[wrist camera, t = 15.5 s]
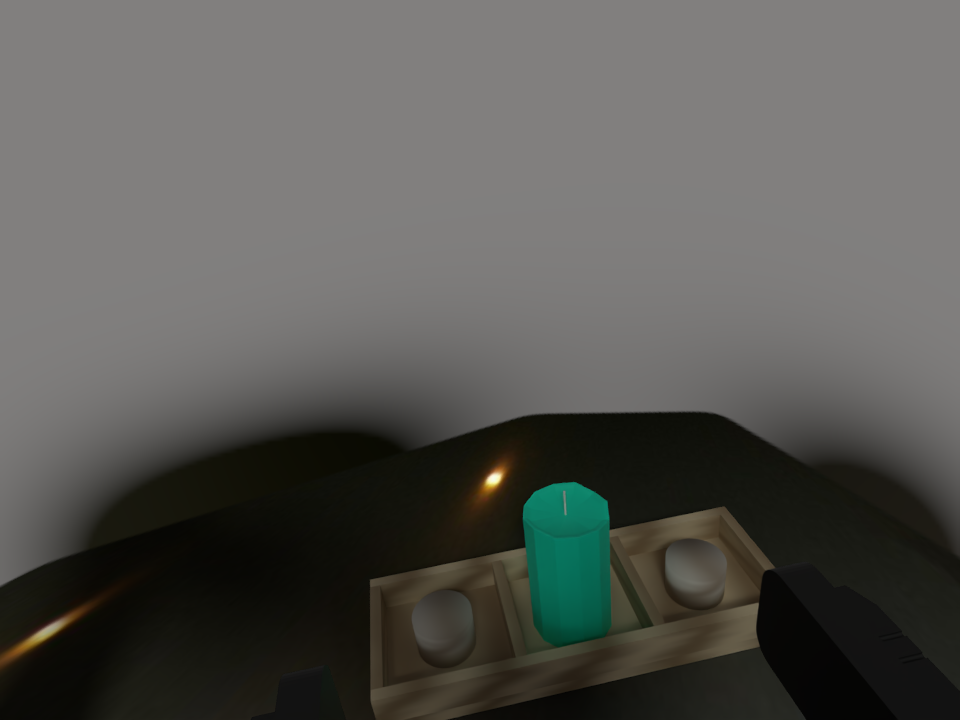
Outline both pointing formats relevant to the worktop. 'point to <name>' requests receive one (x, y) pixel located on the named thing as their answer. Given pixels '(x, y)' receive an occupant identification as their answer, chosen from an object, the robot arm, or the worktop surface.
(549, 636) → the candle
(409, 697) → the tray
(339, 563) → the worktop surface
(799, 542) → the worktop surface
